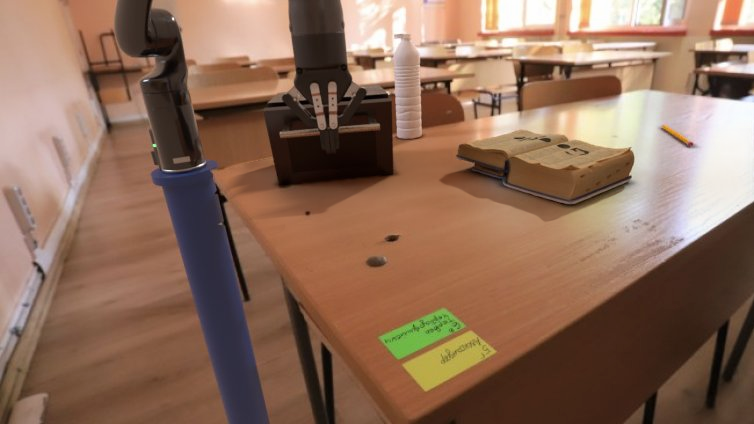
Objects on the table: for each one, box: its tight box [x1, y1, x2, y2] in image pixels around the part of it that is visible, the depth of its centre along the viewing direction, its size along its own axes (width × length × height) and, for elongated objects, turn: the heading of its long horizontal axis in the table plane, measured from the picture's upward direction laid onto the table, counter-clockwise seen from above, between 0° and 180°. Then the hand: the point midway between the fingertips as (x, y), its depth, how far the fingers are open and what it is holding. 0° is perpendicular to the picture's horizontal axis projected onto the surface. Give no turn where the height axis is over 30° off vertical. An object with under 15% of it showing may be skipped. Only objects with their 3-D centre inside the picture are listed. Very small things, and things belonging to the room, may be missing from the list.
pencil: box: [661, 124, 694, 147], centre depth 93 cm, size 1×19×1 cm, turn 163°
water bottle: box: [392, 33, 423, 140], centre depth 104 cm, size 9×6×25 cm
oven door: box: [262, 97, 394, 186], centre depth 74 cm, size 6×22×15 cm, turn 95°
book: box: [455, 129, 636, 205], centre depth 73 cm, size 25×17×6 cm
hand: (331, 152), depth 65 cm, fingers closed
